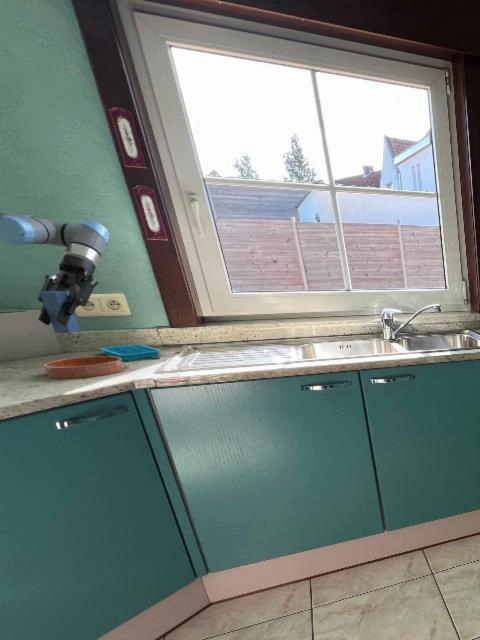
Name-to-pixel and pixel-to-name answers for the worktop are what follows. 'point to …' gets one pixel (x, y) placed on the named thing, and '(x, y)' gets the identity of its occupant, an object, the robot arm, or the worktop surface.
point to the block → (53, 306)
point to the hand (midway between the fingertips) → (52, 322)
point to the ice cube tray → (132, 352)
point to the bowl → (84, 367)
